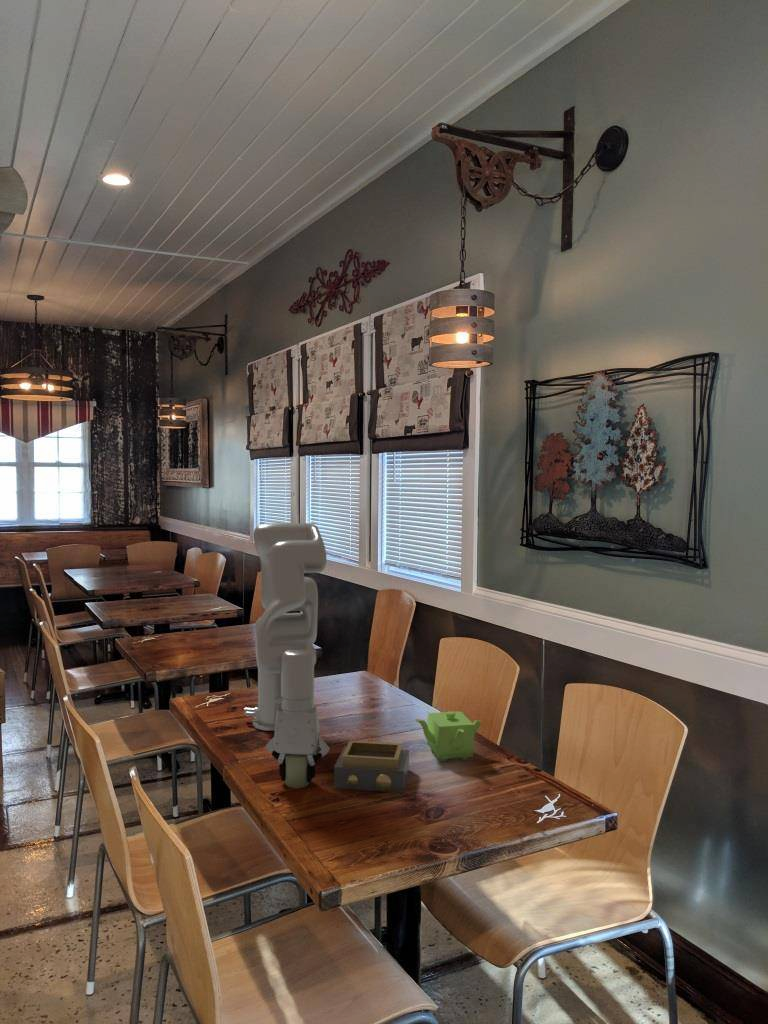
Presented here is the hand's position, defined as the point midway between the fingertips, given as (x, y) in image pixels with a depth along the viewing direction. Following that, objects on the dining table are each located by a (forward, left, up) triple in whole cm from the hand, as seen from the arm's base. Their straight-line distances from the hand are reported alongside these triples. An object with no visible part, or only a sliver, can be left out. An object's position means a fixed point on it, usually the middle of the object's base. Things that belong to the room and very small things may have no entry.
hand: (297, 778), depth 175 cm
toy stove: (+17, +5, -1) cm, 18 cm away
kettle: (+34, +22, -1) cm, 41 cm away
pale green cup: (0, 0, -1) cm, 1 cm away
